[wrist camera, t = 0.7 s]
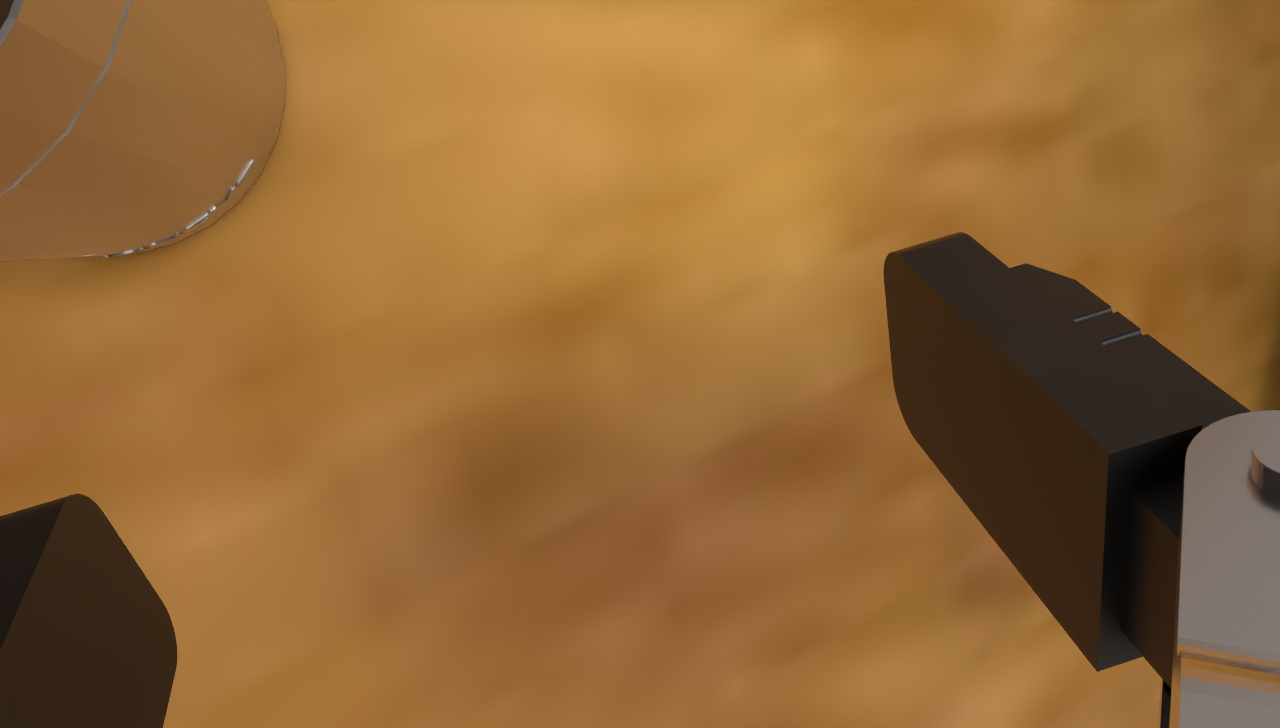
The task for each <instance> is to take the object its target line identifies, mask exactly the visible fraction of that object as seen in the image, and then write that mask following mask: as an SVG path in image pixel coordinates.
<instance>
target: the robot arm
mask: <svg viewBox="0 0 1280 728" xmlns="http://www.w3.org/2000/svg"><path fill="white" fill-rule="evenodd" d="M284 105H285V64H284V59H283V55H282V50H281V46H280V41H279V37H278V32H277V28H276V25H275V23H274V20H273V18H272V16H271V14H270V12H269V9H268V7H267V5H266V3H265V0H0V261H11V260H31V259H52V258H74V257H90V256H101V257H102V258H107V257H115V256H121V255H127V254H134V253H140V252H144V251H148V250H151V249H155V248H159V247H163V246H166V245H170V244H174V243H177V242H179V241H180V240H182V239H184V238H186V237H188V236H190V235H192V234H194V233H196V232H198V231H200V230H202V229H204V228H206V227H208V226H210V225H211V224H212V223H214V222H215V221H216V220H217V219H218V218H220V217H221V216H222V215H223V214H225V213H226V212H227V211H228V210H229V209H231V208H232V207H233V206H234V205H236V204H237V203H238V202H239V201H240V200H241V198H242V197H243V196H244V194H245V193H246V192H247V191H248V189H249V188H250V187H251V185H252V184H253V183H254V182H255V180H256V179H257V178H258V177H259V175H260V174H261V173H262V171H263V168H264V166H265V164H266V162H267V160H268V158H269V156H270V153H271V151H272V149H273V147H274V145H275V143H276V141H277V138H278V133H279V128H280V124H281V119H282V114H283V110H284ZM884 284H885V295H886V306H887V318H888V329H889V340H890V351H891V362H892V373H893V382H894V388H895V393H896V397H897V401H898V404H899V407H900V410H901V413H902V415H903V418H904V420H905V422H906V424H907V426H908V428H909V430H910V432H911V434H912V435H913V437H914V438H915V440H916V441H917V442H918V444H919V445H920V446H921V447H922V449H923V450H924V451H925V453H926V454H927V455H928V456H929V458H930V459H931V460H932V461H933V463H934V464H935V465H936V467H937V468H938V469H939V470H940V472H941V473H942V474H943V475H944V477H945V478H946V479H947V481H948V482H949V483H950V484H951V486H952V487H953V488H954V490H955V491H956V492H957V493H958V495H959V496H960V497H961V498H962V500H963V501H964V502H965V504H966V505H967V506H968V507H969V509H970V510H971V511H972V512H973V514H974V515H975V516H976V518H977V519H978V520H979V521H980V523H981V524H982V525H983V527H984V528H985V529H986V530H987V532H988V533H989V534H990V535H991V537H992V538H993V539H994V541H995V542H996V543H997V544H998V546H999V547H1000V548H1001V549H1002V551H1003V552H1004V553H1005V555H1006V556H1007V557H1008V558H1009V560H1010V561H1011V562H1012V564H1013V565H1014V566H1015V567H1016V569H1017V570H1018V571H1019V572H1020V574H1021V575H1022V576H1023V578H1024V579H1025V580H1026V581H1027V583H1028V584H1029V585H1030V587H1031V588H1032V589H1033V590H1034V592H1035V593H1036V594H1037V595H1038V597H1039V598H1040V599H1041V601H1042V602H1043V603H1044V604H1045V606H1046V607H1047V608H1048V609H1049V611H1050V612H1051V613H1052V615H1053V616H1054V617H1055V618H1056V620H1057V621H1058V622H1059V624H1060V625H1061V626H1062V627H1063V629H1064V630H1065V631H1066V632H1067V634H1068V635H1069V636H1070V638H1071V639H1072V640H1073V641H1074V643H1075V644H1076V645H1077V646H1078V648H1079V649H1080V650H1081V652H1082V653H1083V654H1084V655H1085V657H1086V658H1087V659H1088V661H1089V662H1090V663H1091V664H1092V666H1093V667H1094V668H1095V669H1096V671H1097V672H1098V671H1101V670H1104V669H1107V668H1110V667H1113V666H1116V665H1119V664H1122V663H1125V662H1128V661H1131V660H1134V659H1137V658H1139V657H1142V656H1143V657H1144V658H1145V659H1146V660H1147V661H1148V662H1149V664H1150V665H1151V666H1152V667H1153V668H1154V669H1155V671H1156V672H1157V673H1158V674H1159V675H1160V677H1161V678H1162V684H1161V693H1160V704H1159V721H1158V728H1280V410H1267V411H1254V412H1251V411H1249V410H1248V409H1247V408H1245V407H1244V406H1243V405H1241V404H1240V403H1239V402H1237V401H1236V400H1235V399H1233V398H1232V397H1231V396H1229V395H1228V394H1227V393H1225V392H1224V391H1223V390H1221V389H1220V388H1219V387H1217V386H1216V385H1215V384H1213V383H1212V382H1211V381H1209V380H1208V379H1207V378H1205V377H1204V376H1203V375H1201V374H1200V373H1199V372H1197V371H1196V370H1195V369H1193V368H1192V367H1191V366H1189V365H1188V364H1187V363H1185V362H1184V361H1183V360H1181V359H1180V358H1179V357H1177V356H1176V355H1175V354H1173V353H1172V352H1171V351H1169V350H1168V349H1167V348H1165V347H1164V346H1163V345H1161V344H1160V343H1159V342H1157V341H1156V340H1155V339H1153V338H1152V337H1151V336H1149V335H1148V334H1147V335H1144V336H1143V335H1142V334H1141V332H1140V328H1139V327H1137V326H1136V325H1135V324H1133V323H1132V322H1131V321H1129V320H1128V319H1127V318H1125V317H1124V316H1123V315H1121V314H1120V313H1119V312H1115V313H1113V312H1112V310H1111V306H1109V305H1108V304H1107V303H1105V302H1104V301H1103V300H1101V299H1100V298H1099V297H1097V296H1096V295H1095V294H1093V293H1092V292H1091V291H1089V290H1088V289H1087V288H1085V287H1084V286H1083V285H1081V284H1080V283H1079V282H1077V281H1076V280H1074V279H1071V278H1068V277H1065V276H1062V275H1059V274H1056V273H1053V272H1050V271H1047V270H1044V269H1041V268H1038V267H1035V266H1032V265H1029V264H1022V265H1019V266H1016V267H1013V268H1008V267H1007V266H1006V265H1005V264H1004V263H1002V262H1001V261H1000V260H999V259H997V258H996V257H995V256H994V255H992V254H991V253H990V252H989V251H988V250H986V249H985V248H984V247H983V246H981V245H980V244H979V243H978V242H976V241H975V240H974V239H973V238H971V237H970V236H969V235H967V234H965V233H962V232H960V233H955V234H952V235H948V236H945V237H942V238H938V239H935V240H932V241H928V242H925V243H922V244H918V245H915V246H912V247H908V248H905V249H901V250H898V251H895V252H891V253H890V254H888V256H887V257H886V260H885V264H884ZM176 665H177V644H176V637H175V632H174V628H173V625H172V621H171V619H170V616H169V614H168V611H167V609H166V607H165V605H164V604H163V602H162V600H161V599H160V597H159V596H158V594H157V593H156V591H155V590H154V588H153V587H152V585H151V584H150V582H149V581H148V579H147V578H146V576H145V575H144V573H143V572H142V570H141V569H140V567H139V566H138V564H137V563H136V561H135V560H134V558H133V557H132V555H131V554H130V552H129V551H128V549H127V548H126V546H125V545H124V543H123V542H122V540H121V539H120V537H119V536H118V534H117V533H116V531H115V529H114V528H113V526H112V525H111V523H110V522H109V520H108V519H107V517H106V516H105V514H104V513H103V512H102V510H101V509H100V508H99V506H98V505H97V504H96V503H95V502H94V501H93V500H91V499H90V498H89V497H87V496H85V495H81V494H74V495H70V496H67V497H64V498H60V499H57V500H54V501H50V502H47V503H44V504H40V505H37V506H33V507H30V508H27V509H23V510H20V511H17V512H13V513H10V514H7V515H3V516H0V728H163V724H164V719H165V715H166V711H167V706H168V702H169V698H170V693H171V689H172V684H173V680H174V676H175V671H176Z"/></svg>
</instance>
